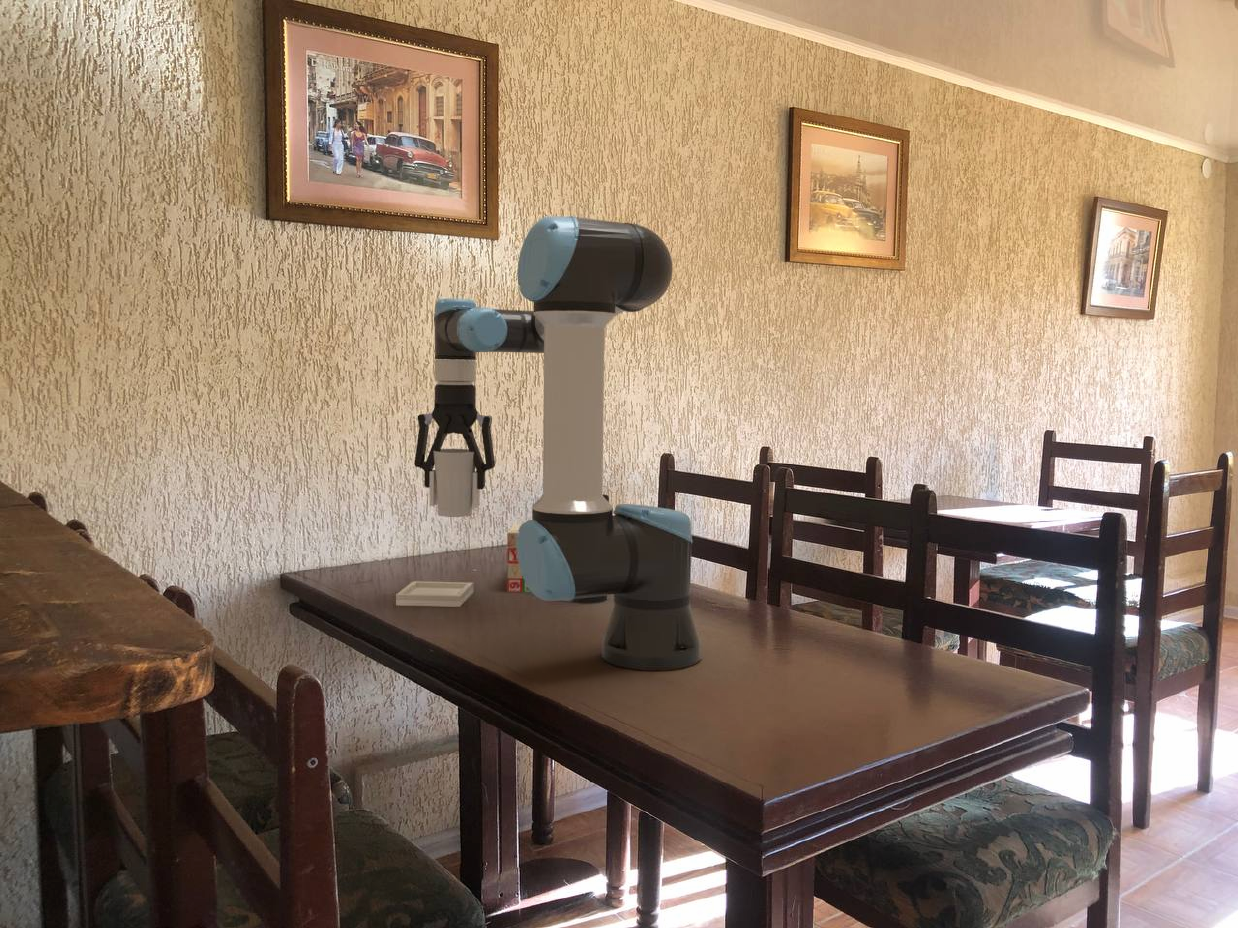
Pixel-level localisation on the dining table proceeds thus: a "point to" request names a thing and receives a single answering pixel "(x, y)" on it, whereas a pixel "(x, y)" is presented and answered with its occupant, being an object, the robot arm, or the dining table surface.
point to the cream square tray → (434, 594)
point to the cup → (454, 482)
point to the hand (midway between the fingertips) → (454, 505)
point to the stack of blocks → (514, 564)
